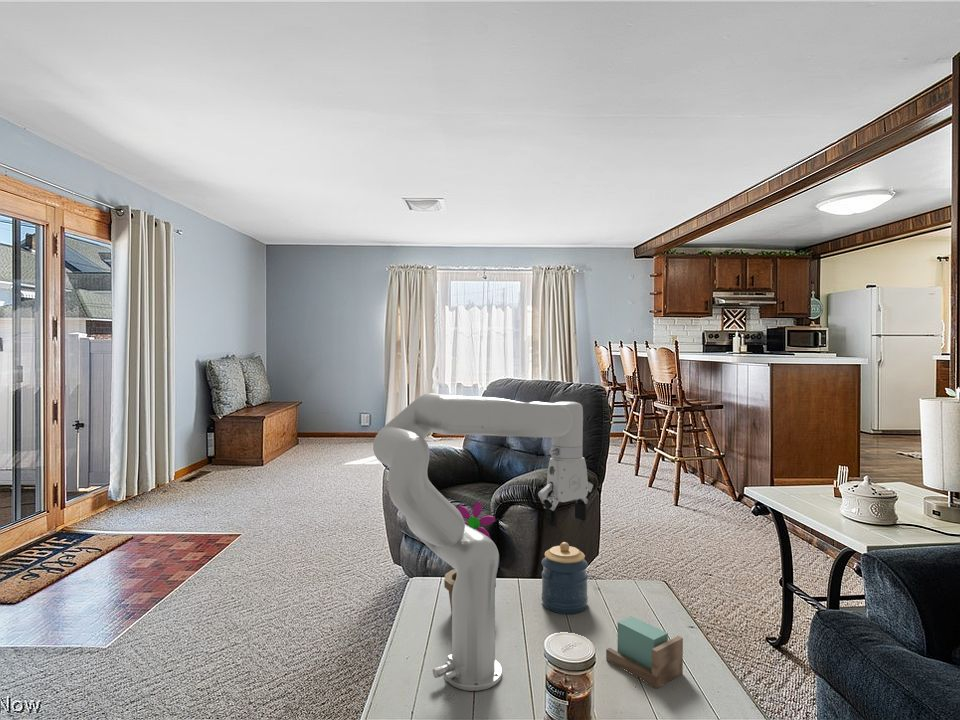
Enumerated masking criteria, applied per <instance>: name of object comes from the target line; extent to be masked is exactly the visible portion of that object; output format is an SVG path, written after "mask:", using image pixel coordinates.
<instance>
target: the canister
mask: <svg viewBox="0 0 960 720" xmlns="http://www.w3.org/2000/svg"><path fill="white" fill-rule="evenodd" d="M585 557H586V555H585V554H584V552H582V551H581V550H580V549H578V548H577V547H575V546H572V545H571V546H570V545H569V543H568V542H566V541H563V542H561V543H560V545H555V546H552V547H551V548H549V549H547V550H546V551H545V552H544V558H542V560H541V565H542V567H543V570H542V571H541V580H542V582H541V585H542V586H541V587H542V589H541V590H542V591H541V600H542V606H544V607H545V608H546V609H547V610H548V611H551V612H554V613H556V614H566V615H567V614H568V615H570V614H572V615H573V614H578V613H580V612H583V611H585V610H586V609H587V606H588V602H589V599H588V598H589V596H588V576H589V575H588V573H587V569H588V566H589V564H588V562H587V560H586V559H585Z"/></svg>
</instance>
